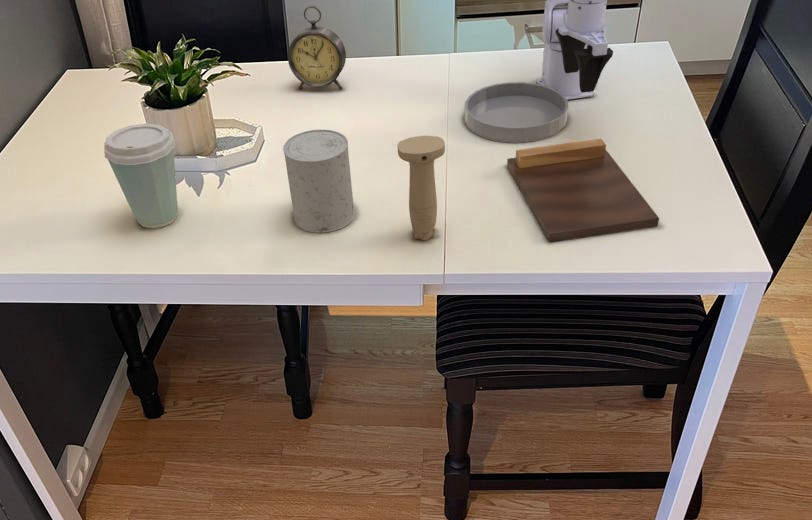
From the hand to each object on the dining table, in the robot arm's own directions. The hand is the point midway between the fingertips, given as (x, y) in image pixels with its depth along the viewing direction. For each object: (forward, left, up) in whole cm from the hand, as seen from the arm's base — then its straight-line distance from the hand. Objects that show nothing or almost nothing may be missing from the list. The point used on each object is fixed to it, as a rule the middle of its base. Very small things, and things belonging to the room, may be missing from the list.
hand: (579, 81), depth 130 cm
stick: (+10, -6, -8) cm, 14 cm away
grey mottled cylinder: (+15, -45, -10) cm, 48 cm away
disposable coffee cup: (+9, -71, -10) cm, 72 cm away
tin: (-8, -8, -9) cm, 15 cm away
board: (+19, -6, -9) cm, 22 cm away
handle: (+24, -31, -10) cm, 40 cm away
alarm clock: (-32, -41, -10) cm, 53 cm away
